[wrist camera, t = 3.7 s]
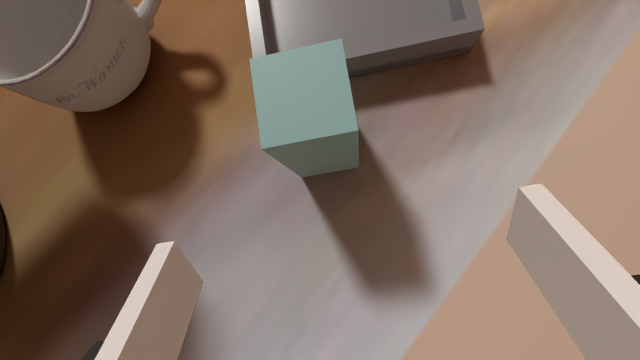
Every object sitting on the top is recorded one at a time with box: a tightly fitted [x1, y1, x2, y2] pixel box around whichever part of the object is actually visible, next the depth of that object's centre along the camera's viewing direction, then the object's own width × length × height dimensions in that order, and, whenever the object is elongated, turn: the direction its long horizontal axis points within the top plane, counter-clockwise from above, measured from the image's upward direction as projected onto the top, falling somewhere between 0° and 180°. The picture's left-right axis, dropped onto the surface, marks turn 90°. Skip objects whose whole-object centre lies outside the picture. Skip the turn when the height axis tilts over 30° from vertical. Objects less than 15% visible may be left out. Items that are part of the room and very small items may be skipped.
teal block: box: [249, 38, 359, 178], centre depth 19 cm, size 4×4×10 cm
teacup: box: [0, 0, 162, 112], centre depth 23 cm, size 14×11×8 cm
